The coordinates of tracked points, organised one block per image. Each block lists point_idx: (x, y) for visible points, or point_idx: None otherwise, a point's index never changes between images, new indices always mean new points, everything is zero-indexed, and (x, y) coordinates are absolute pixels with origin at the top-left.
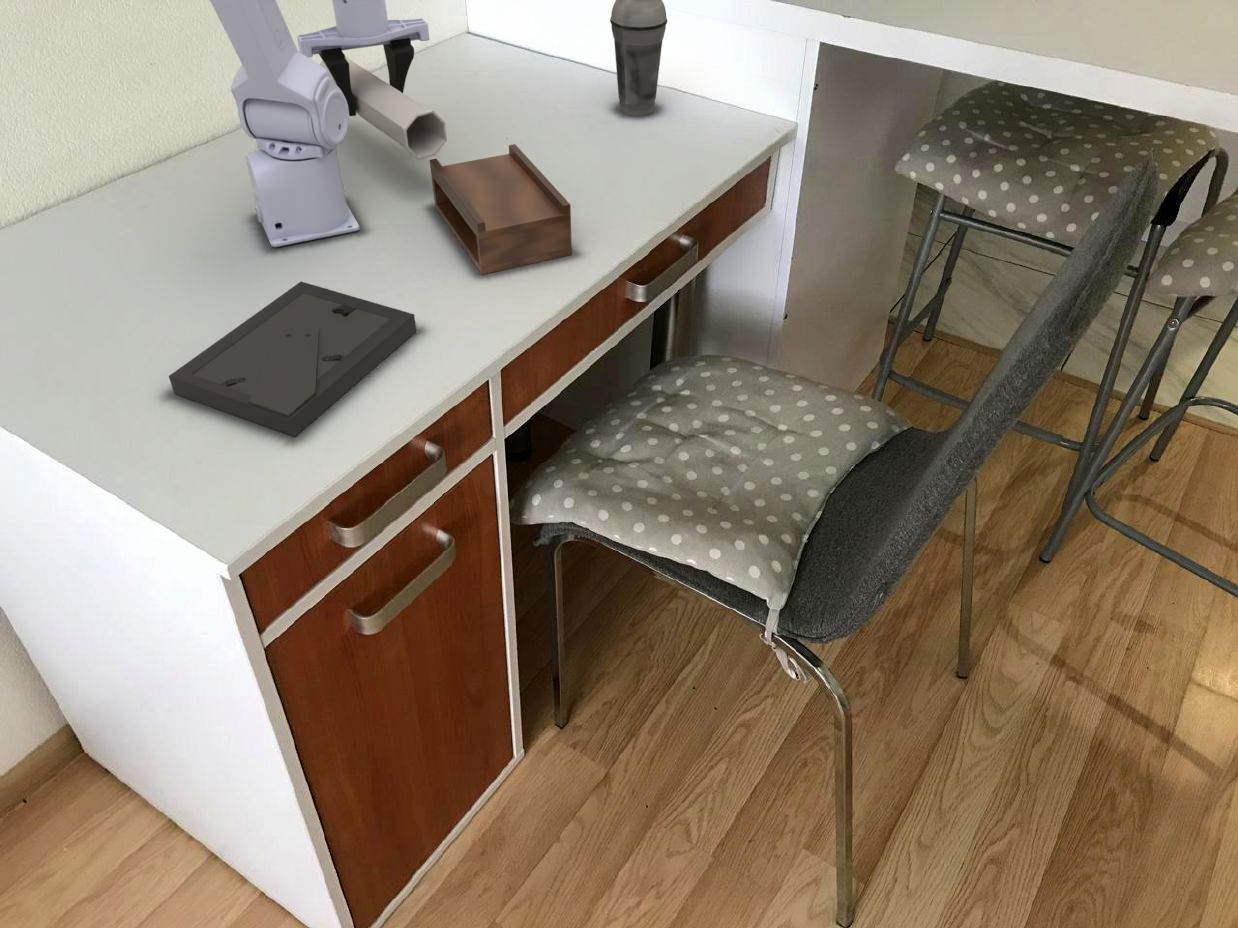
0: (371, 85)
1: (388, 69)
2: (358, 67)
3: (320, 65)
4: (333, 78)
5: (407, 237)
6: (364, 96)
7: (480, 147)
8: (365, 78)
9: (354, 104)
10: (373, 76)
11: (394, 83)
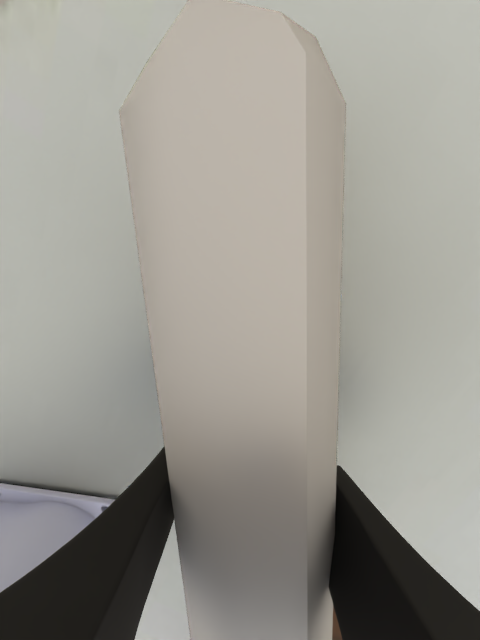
0: (237, 621)
1: (388, 578)
2: (287, 396)
3: (138, 112)
4: (84, 528)
5: (174, 622)
6: (194, 598)
7: (443, 443)
8: (250, 544)
9: (167, 537)
10: (295, 542)
11: (346, 603)
